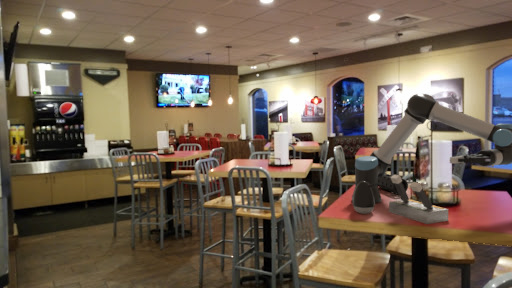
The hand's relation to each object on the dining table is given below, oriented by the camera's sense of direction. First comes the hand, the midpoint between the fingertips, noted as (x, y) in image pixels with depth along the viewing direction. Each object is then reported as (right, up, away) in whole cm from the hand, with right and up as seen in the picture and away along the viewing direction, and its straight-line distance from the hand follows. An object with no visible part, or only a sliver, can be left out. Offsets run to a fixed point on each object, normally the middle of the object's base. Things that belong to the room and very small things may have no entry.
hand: (451, 160), depth 172 cm
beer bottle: (+12, -21, +61) cm, 66 cm away
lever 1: (-16, -20, +10) cm, 27 cm away
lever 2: (-11, -20, -3) cm, 23 cm away
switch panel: (-13, -26, +4) cm, 29 cm away
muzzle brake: (-7, -22, +62) cm, 66 cm away
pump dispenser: (-35, -26, +12) cm, 45 cm away
